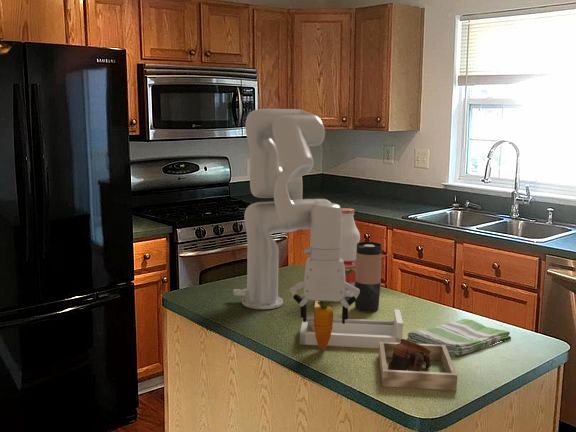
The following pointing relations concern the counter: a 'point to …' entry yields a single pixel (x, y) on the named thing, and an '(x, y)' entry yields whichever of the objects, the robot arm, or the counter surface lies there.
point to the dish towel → (460, 336)
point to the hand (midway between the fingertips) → (324, 321)
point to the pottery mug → (416, 356)
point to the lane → (356, 332)
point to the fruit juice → (349, 246)
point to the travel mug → (368, 276)
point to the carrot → (323, 323)
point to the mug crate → (417, 377)
